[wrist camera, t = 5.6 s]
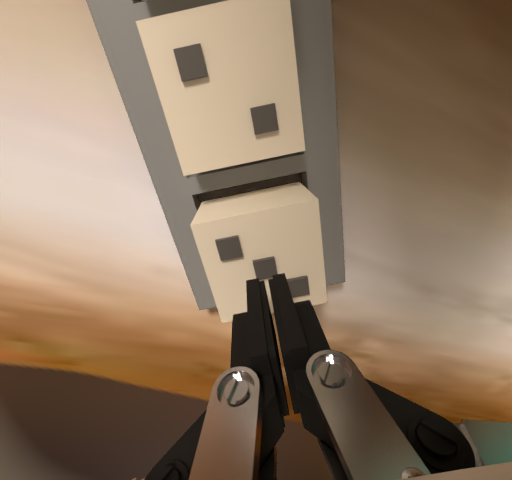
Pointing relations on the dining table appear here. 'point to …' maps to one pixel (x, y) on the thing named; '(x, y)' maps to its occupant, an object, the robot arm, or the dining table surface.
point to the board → (187, 187)
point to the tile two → (227, 82)
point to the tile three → (261, 245)
